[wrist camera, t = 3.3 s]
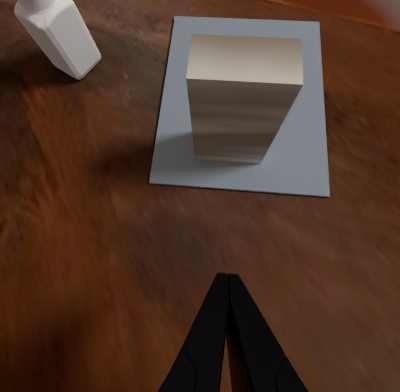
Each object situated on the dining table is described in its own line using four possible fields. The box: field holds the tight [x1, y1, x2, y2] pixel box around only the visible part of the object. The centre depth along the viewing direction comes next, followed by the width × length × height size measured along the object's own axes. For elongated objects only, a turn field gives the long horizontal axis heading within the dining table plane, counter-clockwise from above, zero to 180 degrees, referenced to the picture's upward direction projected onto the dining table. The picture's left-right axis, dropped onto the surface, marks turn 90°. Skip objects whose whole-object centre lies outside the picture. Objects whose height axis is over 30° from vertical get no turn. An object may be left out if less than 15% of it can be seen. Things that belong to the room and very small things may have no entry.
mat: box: [149, 16, 330, 197], centre depth 24 cm, size 20×16×1 cm
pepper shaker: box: [14, 0, 101, 80], centre depth 21 cm, size 4×4×10 cm
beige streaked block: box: [186, 34, 303, 164], centre depth 17 cm, size 3×6×10 cm, turn 85°
